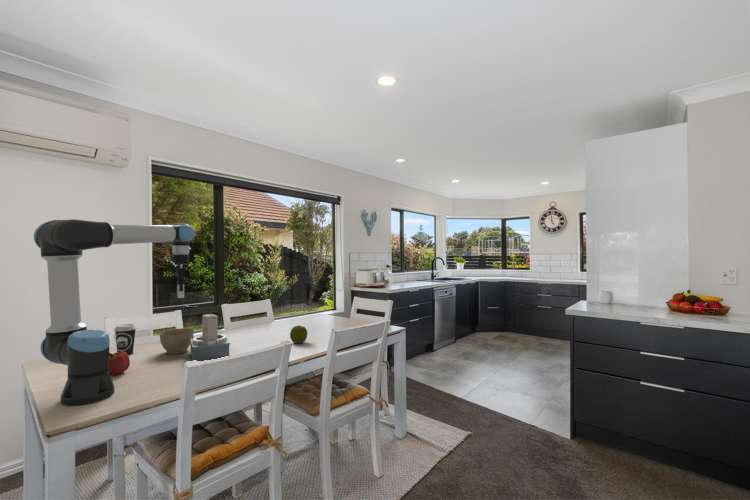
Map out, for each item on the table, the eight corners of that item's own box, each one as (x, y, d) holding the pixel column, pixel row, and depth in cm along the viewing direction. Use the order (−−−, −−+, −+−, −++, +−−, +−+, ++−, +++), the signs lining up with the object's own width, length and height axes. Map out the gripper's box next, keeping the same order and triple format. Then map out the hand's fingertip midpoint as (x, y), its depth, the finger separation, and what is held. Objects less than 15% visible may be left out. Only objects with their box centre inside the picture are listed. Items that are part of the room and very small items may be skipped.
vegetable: (101, 380, 142) (101, 356, 142) (96, 374, 149) (96, 351, 149) (132, 373, 150) (132, 350, 151) (126, 368, 157) (127, 346, 158)
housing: (229, 359, 172) (230, 338, 172) (192, 364, 163) (192, 343, 163) (224, 349, 189) (224, 330, 190) (189, 353, 181) (189, 334, 181)
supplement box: (218, 341, 174) (218, 315, 174) (208, 343, 170) (208, 316, 170) (211, 338, 179) (211, 313, 180) (201, 340, 176) (202, 314, 176)
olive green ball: (287, 344, 200) (287, 325, 200) (293, 340, 209) (294, 322, 209) (303, 345, 198) (303, 326, 198) (309, 341, 208) (309, 323, 208)
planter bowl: (185, 346, 195) (185, 326, 195) (199, 351, 186) (200, 330, 186) (153, 352, 182) (153, 332, 182) (167, 358, 172) (167, 336, 173)
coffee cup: (139, 353, 180) (140, 324, 180) (118, 358, 172) (119, 328, 172) (131, 350, 185) (131, 322, 185) (110, 355, 177) (110, 325, 177)
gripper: (190, 254, 166) (190, 298, 165) (188, 254, 187) (187, 293, 187) (172, 254, 162) (172, 299, 162) (172, 254, 183) (171, 294, 183)
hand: (180, 296), depth 174 cm, fingers open, 13 cm apart
